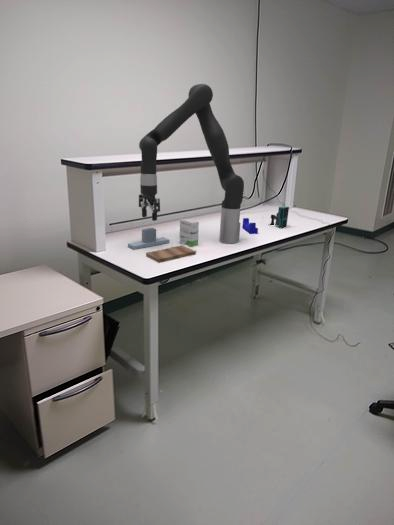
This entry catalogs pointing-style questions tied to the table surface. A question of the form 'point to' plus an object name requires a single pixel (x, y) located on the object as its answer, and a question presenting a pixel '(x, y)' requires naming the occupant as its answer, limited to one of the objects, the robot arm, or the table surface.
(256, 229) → the blue bent block
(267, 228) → the table surface
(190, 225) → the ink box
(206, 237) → the table surface
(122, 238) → the table surface
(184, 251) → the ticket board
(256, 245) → the table surface
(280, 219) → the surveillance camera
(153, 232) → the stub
